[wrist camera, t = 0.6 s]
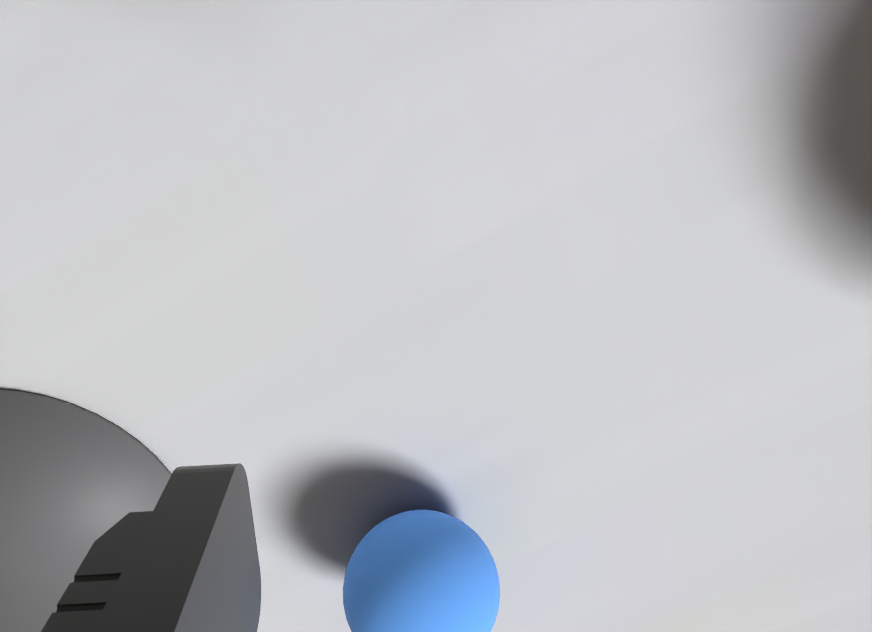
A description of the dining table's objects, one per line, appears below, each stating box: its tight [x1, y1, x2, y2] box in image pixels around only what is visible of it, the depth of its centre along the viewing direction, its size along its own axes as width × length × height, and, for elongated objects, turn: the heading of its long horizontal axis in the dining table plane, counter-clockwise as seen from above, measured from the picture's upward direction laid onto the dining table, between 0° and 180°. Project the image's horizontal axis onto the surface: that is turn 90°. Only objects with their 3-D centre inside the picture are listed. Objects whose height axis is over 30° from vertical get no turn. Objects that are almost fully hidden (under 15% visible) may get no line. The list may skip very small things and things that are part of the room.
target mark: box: [0, 389, 172, 632], centre depth 31 cm, size 14×14×1 cm
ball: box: [343, 510, 500, 632], centre depth 29 cm, size 6×6×6 cm
